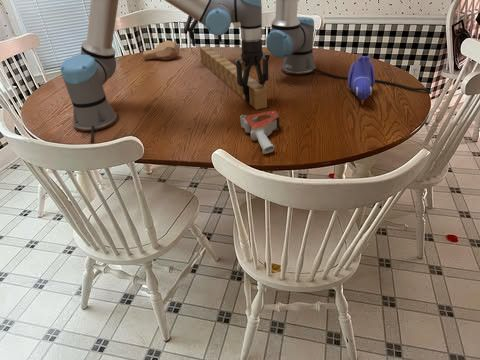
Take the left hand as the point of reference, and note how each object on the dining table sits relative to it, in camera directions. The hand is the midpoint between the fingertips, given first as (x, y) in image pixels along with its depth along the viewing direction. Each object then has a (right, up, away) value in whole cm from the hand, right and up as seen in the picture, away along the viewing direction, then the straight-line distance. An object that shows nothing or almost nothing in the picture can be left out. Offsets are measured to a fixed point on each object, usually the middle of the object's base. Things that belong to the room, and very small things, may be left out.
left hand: (253, 100), depth 141 cm
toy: (+42, +1, -2) cm, 42 cm away
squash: (-48, +34, +52) cm, 78 cm away
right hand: (-22, +35, +34) cm, 53 cm away
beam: (-10, +13, +20) cm, 26 cm away
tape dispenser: (+1, -17, -23) cm, 29 cm away
